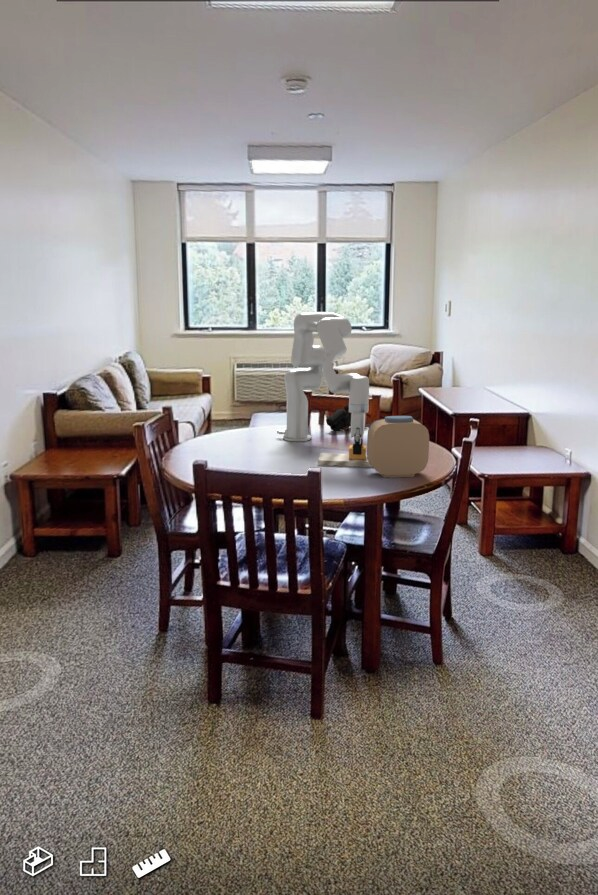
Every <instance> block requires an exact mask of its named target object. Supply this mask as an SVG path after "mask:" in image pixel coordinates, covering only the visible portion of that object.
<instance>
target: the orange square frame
mask: <svg viewBox="0 0 598 895" xmlns="http://www.w3.org/2000/svg"><path fill="white" fill-rule="evenodd" d="M348 454H349V459H366V454H367V444H366V445H363V444H362V449H361V455H357V454H353V444H349V447H348Z"/></svg>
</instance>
